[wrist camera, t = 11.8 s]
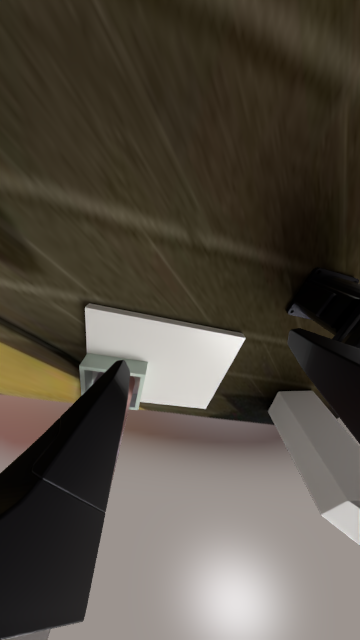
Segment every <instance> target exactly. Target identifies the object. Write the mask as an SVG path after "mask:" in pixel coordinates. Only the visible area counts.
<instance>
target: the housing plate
mask: <svg viewBox="0 0 360 640" xmlns="http://www.w3.org/2000/svg"><path fill="white" fill-rule="evenodd" d="M85 321H86V344H87V355H86V356H85V358H84V359H83V361H82V362H81V364H80V366H79V369H80V382H81V395H83V394H84V393H85V392H86V391H87V390H88V389H89V388H90V387H91V386H92V384H93V382H94V380H95V378H96V376H97V374H98V373H99V372H106V371H107V370H108V369H109V368H110V367H111V366H112V365H113V364H114V363H115V362H116V361H118V360H125V361H126V363H127V365H128V367H129V369H130V376H134V379H135V385H134V389H133V394H132V398H131V402H130V407H129V409H132V410H138V408H139V403H140V402H147V403H156V404H165V405H175V406H184V407H193V408H203V409H206V407H207V406H208V404H209V402H210V400H211V399H212V397H213V395H214V393H215V391H216V390H217V388H218V386H219V384H220V383H221V381H222V379H223V377H224V376H225V374H226V372H227V370H228V369H229V367H230V365H231V363H232V362H233V360H234V358H235V356H236V354H237V353H238V351H239V349H240V347H241V346H242V344H243V342H244V340H245V339H246V338H245V336H244V335H243V333H238V332H233V331H228V330H223V329H218V328H213V327H208V326H203V325H198V324H192V323H187V322H182V321H177V320H172V319H167V318H162V317H157V316H152V315H147V314H141V313H136V312H131V311H126V310H121V309H116V308H111V307H106V306H101V305H96V304H90V303H89V304H88V305H87V306H86V307H85Z"/></svg>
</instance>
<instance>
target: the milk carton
mask: <svg viewBox="0 0 360 640" xmlns="http://www.w3.org/2000/svg"><path fill="white" fill-rule="evenodd" d="M268 412H269V414H270V416H271V418H272V420H273V422H274V424H275V426H276V428H277V430H278V432H279V434H280V436H281V438H282V440H283V442H284V444H285V445H286V448H287V450H288V451H289V453H290V455H291V457H292V459H293V461H294V463H295V465H296V467H297V469H298V471H299V473H300V475H301V477H302V479H303V481H304V483H305V485H306V487H307V489H308V491H309V493H310V494H311V497H312V498H313V500H314V502H315V504H316V506H317V508H318V510H319V512H320V514H321V516H323V517H324V518H325V519H326V520H328V521H329V522H330V523H332V524H333V525H334V526H335V527H337V528H338V529H339V530H341V531H342V532H343V533H344V534H346V535H347V536H348V537H350V538H351V539H352V540H353V541H355V542H356V543H357V544H359V545H360V446H359V445H358V444H357V443H356V442H355V441H354V440H353V438H352V437H351V436H350V435H349V433H348V432H347V431H346V430H345V429H344V427H343V426H342V425H341V424H340V423H339V422H338V420H337V419H336V418H335V417H334V416H333V414H332V413H331V412H330V411H329V410H328V408H327V407H326V406H325V405H324V404H323V403H322V401H321V400H320V399H319V398H318V397H317V395H316V394H315V393H314V392H313V391H279V392H278V393H277V395H276V397H275V399H274V401H273V403H272V405H271V406H270V408H269V410H268Z"/></svg>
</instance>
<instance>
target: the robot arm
mask: <svg viewBox="0 0 360 640" xmlns="http://www.w3.org/2000/svg"><path fill="white" fill-rule="evenodd" d="M317 271H318V272H317ZM358 282H359V280H358V279H356V278H353V277H349V276H346V275H343V274H339V273H336V272H332V271H329V270H326V269H322V268H319V267H317V268H315V269H314V270H313V271H312V272H311V274H310V275H309V277H308V279H307V280H306V282H305V283H304V285H303V286H302V288H301V289H300V291H299V292H298V294H297V295H296V297H295V298H294V300H293V301H292V303H291V304H290V306H289V308H288V309H287V313H288V314H290V315H294V316H298V317H302V318H307V319H311V320H313V321H315V322H316V323H318V324H319V325H321V326H322V327H324V328H325V329H326V330H328V331H329V332H331V333H332V334H334V335H335V336H334V337H333V339H330V338H327V337H324V336H321V335H318V334H315V333H312V332H309V331H306V330H304V329H301V328H297V329H292V330H290V332H289V337H288V346H289V347H290V349H291V351H292V352H293V354H294V356H295V357H296V359H297V360H298V362H299V364H300V365H301V367H302V369H303V370H304V372H305V373H306V374H307V376H308V377H309V378H310V380H311V381H312V382H313V383H314V385H315V386H316V387H317V389H318V390H319V391H320V393H321V394H322V395H323V397H324V398H325V399H326V400H327V402H328V403H329V404H330V406H331V407H332V408H333V410H334V411H335V412H336V414H337V415H338V416H339V417H340V419H341V420H342V421H343V423H344V424H345V425H346V427H347V428H348V429H349V431H350V432H351V433H352V434H353V436H354V437H355V438H356V440H357V441H358V442H359V444H360V284H358ZM291 310H292V311H291ZM290 311H291V312H290ZM129 381H130V369H129V367H128V365H127V363H126V361H125V360H118V361H116V362H115V363H114V364H113V365H112V366H111V367H110V368H109V369H108V370H107V371H106V372H105V373H104V374H103V375H102V376H101V377H100V378H99V379H98V380H97V381H96V382H95V383H94V384H93V385H92V386H91V387H90V388H89V389H88V390H87V391H86V392H85V393H84V394H83V395H82V396H81V397H80V398H79V399H78V400H77V401H76V402H75V403H74V404H73V405H72V406H71V407H70V408H69V409H68V410H67V411H66V412H65V413H64V414H63V415H62V416H61V417H60V418H59V419H58V420H57V421H56V422H55V423H54V424H53V425H52V426H51V427H50V428H49V429H48V430H47V431H46V432H45V433H44V434H43V435H42V436H41V437H39V439H37V441H35V442H34V443H33V444H32V445H31V446H30V447H29V448H28V449H27V450H26V451H25V452H23V453H22V454H21V455H20V456H19V457H18V458H17V459H16V460H15V461H13V462H12V463H11V464H10V465H9V466H8V467H7V468H6V469H5V470H4V471H2V472H1V473H0V640H47V639H48V636H49V632H50V629H52V628H57V627H61V626H66V625H70V624H74V623H79V622H83V620H84V617H85V613H86V608H87V603H88V598H89V592H90V588H91V583H92V578H93V573H94V568H95V563H96V558H97V553H98V547H99V543H100V538H101V533H102V528H103V523H104V517H105V512H106V507H107V502H108V497H109V492H110V487H111V482H112V477H113V472H114V467H115V462H116V457H117V452H118V447H119V442H120V437H121V432H122V427H123V422H124V417H125V412H126V407H127V401H128V393H129Z"/></svg>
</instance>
